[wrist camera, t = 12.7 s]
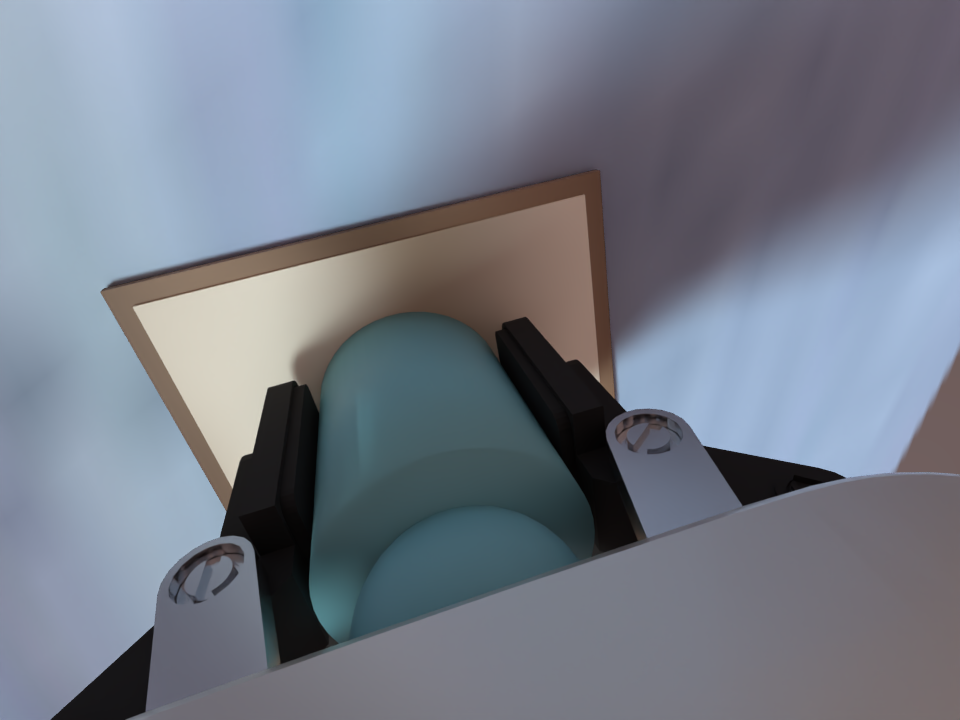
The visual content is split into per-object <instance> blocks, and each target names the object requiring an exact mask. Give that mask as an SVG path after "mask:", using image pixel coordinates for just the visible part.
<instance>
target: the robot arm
mask: <svg viewBox="0 0 960 720" xmlns="http://www.w3.org/2000/svg"><path fill="white" fill-rule="evenodd" d="M495 337H496V343H497V349H498V354H499V359H500V364H501V365H502V367H503V368H504V370H505V371H506V373H507V374H508V376H509V378H510V379H511V381H512V382H513V384H514V385H515V387H516V389H517V390H518V392H519V393H520V395H521V396H522V398H523V399H524V401H525V403H526V404H527V406H528V407H529V409H530V410H531V412H532V414H533V415H534V417H535V418H536V420H537V421H538V423H539V424H540V426H541V428H542V429H543V431H544V432H545V434H546V435H547V437H548V439H549V440H550V442H551V443H552V445H553V446H554V448H555V449H556V451H557V453H558V454H559V456H560V457H561V459H562V460H563V462H564V464H565V465H566V467H567V468H568V470H569V471H570V473H571V474H572V476H573V478H574V479H575V481H576V482H577V484H578V485H579V487H580V488H581V490H582V492H583V493H584V495H585V497H586V499H587V501H588V503H589V505H590V508H591V512H592V515H593V519H594V529H595V536H594V547H593V551H592V556H591V557H590V558H587V559H584V560H581V561H578V562H575V563H572V564H569V565H566V566H563V567H560V568H557V569H554V570H551V571H548V572H545V573H542V574H540V575H537V576H534V577H531V578H528V579H525V580H522V581H519V582H516V583H513V584H510V585H508V586H505V587H502V588H499V589H496V590H493V591H490V592H487V593H484V594H481V595H478V596H475V597H473V598H470V599H467V600H464V601H461V602H458V603H455V604H452V605H449V606H446V607H444V608H441V609H438V610H435V611H432V612H429V613H426V614H423V615H420V616H418V617H415V618H412V619H409V620H406V621H403V622H400V623H397V624H394V625H392V626H389V627H386V628H383V629H380V630H377V631H374V632H371V633H368V634H366V635H363V636H360V637H357V638H354V639H351V640H349V641H346V642H343V643H340V644H339V643H338V642H337V641H336V640H334V639H333V638H332V637H331V636H330V635H329V634H328V633H327V631H326V630H325V629H324V627H323V626H322V625H321V623H320V622H319V620H318V618H317V616H316V614H315V612H314V609H313V605H312V602H311V598H310V590H309V572H310V556H311V539H312V523H313V507H314V491H315V475H316V459H317V442H318V426H319V412H318V409H317V407H316V404H315V402H314V399H313V397H312V394H311V392H310V390H309V387H308V386H307V385H306V384H304V385H300V386H299V385H298V384H297V382H296V381H295V380H294V381H290V382H287V383H283V384H279V385H276V386H272V387H268V389H267V393H266V397H265V401H264V406H263V410H262V414H261V419H260V423H259V428H258V432H257V436H256V441H255V445H254V449H253V453H251V454H247V455H244V456H243V457H241V460H240V462H239V466H238V470H237V473H236V477H235V481H234V485H233V489H232V493H231V497H230V500H229V504H228V508H227V512H226V516H225V520H224V524H223V527H222V531H221V535H220V538H217V539H214V540H211V541H208V542H206V543H204V544H202V545H200V546H198V547H197V548H195V549H193V550H192V551H190V552H189V553H188V554H186V555H185V556H184V557H182V558H181V559H180V560H179V561H178V562H177V563H176V564H175V565H174V566H173V567H172V568H171V569H170V570H169V571H168V573H167V575H166V576H165V578H164V579H163V581H162V583H161V585H160V588H159V592H158V595H157V604H156V614H155V624H154V626H153V627H152V628H151V629H150V630H149V631H148V632H146V633H145V634H144V635H143V636H142V637H141V638H140V639H139V640H138V641H137V642H135V643H134V644H133V645H132V646H131V647H130V648H129V649H128V650H127V651H126V652H124V653H123V654H122V655H121V656H120V657H119V658H118V659H117V660H116V661H115V662H113V663H112V664H111V665H110V666H109V667H108V668H107V669H106V670H105V671H104V672H102V673H101V674H100V675H99V676H98V677H97V678H96V679H95V680H94V681H93V682H92V683H90V684H89V685H88V686H87V687H86V688H85V689H84V690H83V691H82V692H81V693H79V694H78V695H77V696H76V697H75V698H74V699H73V700H72V701H71V702H70V703H68V704H67V705H66V706H65V707H64V708H63V709H62V710H61V711H60V712H59V713H57V714H56V715H55V716H54V717H53V718H52V719H51V720H960V475H958V474H947V473H931V472H917V473H883V474H875V475H866V476H858V477H850V478H845V477H843V476H841V475H839V474H837V473H835V472H831V471H828V470H824V469H820V468H816V467H811V466H806V465H800V464H795V463H790V462H785V461H780V460H774V459H769V458H764V457H759V456H753V455H748V454H743V453H738V452H732V451H727V450H722V449H717V448H712V447H706V446H703V445H702V444H701V442H700V441H699V439H698V438H697V436H696V435H695V433H694V432H693V430H692V429H691V427H690V426H689V425H688V424H687V423H686V422H685V421H684V420H683V419H682V418H680V417H679V416H677V415H675V414H673V413H670V412H667V411H663V410H658V409H635V410H632V411H628V412H626V411H625V410H624V409H623V407H622V406H621V405H620V404H619V403H618V402H617V401H616V400H615V399H614V398H613V397H612V396H611V394H610V393H609V392H608V391H607V390H606V389H605V388H604V387H603V386H602V385H601V384H600V383H599V381H598V380H597V379H596V378H595V377H594V376H593V375H592V374H591V373H590V372H589V371H588V370H587V368H586V367H585V366H584V365H583V364H582V363H581V362H580V361H578V360H577V359H574V360H571V361H567V362H565V361H564V359H563V358H562V357H561V356H560V355H559V354H558V353H557V351H556V350H555V349H554V348H553V347H552V346H551V344H550V343H549V342H548V341H547V340H546V339H545V338H544V336H543V335H542V334H541V333H540V332H539V331H538V330H537V328H536V327H535V326H534V325H533V324H532V323H531V321H530V320H529V319H528V318H527V317H522V318H519V319H515V320H512V321H508V322H504V323H502V330H499V331H495Z"/></svg>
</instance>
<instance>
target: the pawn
mask: <svg viewBox="0 0 960 720" xmlns="http://www.w3.org/2000/svg"><path fill="white" fill-rule="evenodd" d="M594 536H595V529H594V519H593V515H592V512H591V508H590V505H589V503H588V501H587V499H586V497H585V495H584V493H583V492H582V490H581V488H580V487H579V485H578V484H577V482H576V481H575V479H574V478H573V476H572V474H571V473H570V471H569V470H568V468H567V467H566V465H565V464H564V462H563V460H562V459H561V457H560V456H559V454H558V453H557V451H556V449H555V448H554V446H553V445H552V443H551V442H550V440H549V439H548V437H547V435H546V434H545V432H544V431H543V429H542V428H541V426H540V424H539V423H538V421H537V420H536V418H535V417H534V415H533V414H532V412H531V410H530V409H529V407H528V406H527V404H526V403H525V401H524V399H523V398H522V396H521V395H520V393H519V392H518V390H517V389H516V387H515V385H514V384H513V382H512V381H511V379H510V378H509V376H508V374H507V373H506V371H505V370H504V368H503V367H502V365H501V364H500V362H499V360H498V359H497V357H496V356H495V354H494V353H493V351H492V349H491V348H490V347H489V345H488V344H487V343H486V341H485V340H484V339H483V338H482V337H481V336H480V335H479V334H478V333H477V332H476V331H474V330H473V329H472V328H470V327H469V326H468V325H466V324H464V323H462V322H460V321H459V320H456V319H454V318H451V317H449V316H445V315H441V314H437V313H430V312H406V313H398V314H394V315H391V316H387V317H384V318H381V319H379V320H376V321H374V322H372V323H370V324H368V325H366V326H364V327H363V328H361V329H360V330H358V331H357V332H356V333H354V334H353V335H352V336H350V337H349V338H348V339H347V340H346V341H345V342H344V343H343V344H342V345H341V346H340V348H339V349H338V350H337V351H336V353H335V354H334V356H333V357H332V359H331V361H330V362H329V364H328V367H327V369H326V371H325V374H324V377H323V381H322V385H321V395H320V410H319V426H318V442H317V459H316V475H315V491H314V507H313V523H312V539H311V556H310V572H309V590H310V598H311V602H312V605H313V609H314V612H315V614H316V616H317V618H318V620H319V622H320V623H321V625H322V626H323V627H324V629H325V630H326V631H327V633H328V634H329V635H330V636H331V637H332V638H333V639H334V640H336V641H337V642H338V643H339V644H340V643H343V642H346V641H349V640H351V639H354V638H357V637H360V636H363V635H366V634H368V633H371V632H374V631H377V630H380V629H383V628H386V627H389V626H392V625H394V624H397V623H400V622H403V621H406V620H409V619H412V618H415V617H418V616H420V615H423V614H426V613H429V612H432V611H435V610H438V609H441V608H444V607H446V606H449V605H452V604H455V603H458V602H461V601H464V600H467V599H470V598H473V597H475V596H478V595H481V594H484V593H487V592H490V591H493V590H496V589H499V588H502V587H505V586H508V585H510V584H513V583H516V582H519V581H522V580H525V579H528V578H531V577H534V576H537V575H540V574H542V573H545V572H548V571H551V570H554V569H557V568H560V567H563V566H566V565H569V564H572V563H575V562H578V561H581V560H584V559H587V558H590V557H591V556H592V551H593V547H594Z"/></svg>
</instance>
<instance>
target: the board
mask: <svg viewBox="0 0 960 720" xmlns="http://www.w3.org/2000/svg"><path fill="white" fill-rule="evenodd" d="M101 294H102V296H103V297H104V299H105V301H106V303H107V304H108V306H109V308H110V310H111V311H112V313H113V315H114V316H115V318H116V320H117V322H118V323H119V325H120V327H121V329H122V330H123V332H124V334H125V336H126V337H127V339H128V341H129V343H130V344H131V346H132V348H133V350H134V351H135V353H136V355H137V356H138V358H139V360H140V362H141V363H142V365H143V367H144V369H145V370H146V372H147V374H148V376H149V377H150V379H151V381H152V383H153V384H154V386H155V388H156V390H157V391H158V393H159V395H160V397H161V398H162V400H163V402H164V403H165V405H166V407H167V409H168V410H169V412H170V414H171V416H172V417H173V419H174V421H175V423H176V424H177V426H178V428H179V430H180V431H181V433H182V435H183V437H184V438H185V440H186V442H187V444H188V445H189V447H190V449H191V450H192V452H193V454H194V456H195V457H196V459H197V461H198V463H199V464H200V466H201V468H202V470H203V471H204V473H205V475H206V477H207V478H208V480H209V482H210V484H211V485H212V487H213V489H214V491H215V492H216V494H217V496H218V497H219V499H220V501H221V503H222V504H223V506H224V508H225V510H226V511H227V508H228V504H229V500H230V497H231V493H232V489H233V485H234V481H235V477H236V473H237V470H238V466H239V462H240V460H241V457H243V456H244V455H247V454H251V453H253V449H254V445H255V441H256V436H257V432H258V428H259V423H260V419H261V414H262V410H263V406H264V401H265V397H266V393H267V389H268V387H272V386H276V385H279V384H283V383H287V382H290V381H294V380H295V381H296V382H297V384H298V385H299V386H300V385H304V384H306V385H307V386H308V387H309V390H310V392H311V394H312V397H313V399H314V402H315V404H316V407H317V409H318V412H319V410H320V395H321V385H322V381H323V377H324V374H325V371H326V369H327V367H328V364H329V362H330V361H331V359H332V357H333V356H334V354H335V353H336V351H337V350H338V349H339V348H340V346H341V345H342V344H343V343H344V342H345V341H346V340H347V339H348V338H349V337H350V336H352V335H353V334H354V333H356V332H357V331H358V330H360V329H361V328H363V327H364V326H366V325H368V324H370V323H372V322H374V321H376V320H379V319H381V318H384V317H387V316H391V315H394V314H398V313H406V312H430V313H437V314H441V315H445V316H449V317H451V318H454V319H456V320H459V321H460V322H462V323H464V324H466V325H468V326H469V327H470V328H472V329H473V330H474V331H476V332H477V333H478V334H479V335H480V336H481V337H482V338H483V339H484V340H485V341H486V343H487V344H488V345H489V347H490V348H491V349H492V351H493V353H494V354H495V356H496V357H497V359H498V360H499V362H500V359H499V354H498V349H497V343H496V337H495V331H499V330H502V323H504V322H508V321H512V320H515V319H519V318H522V317H527V318H528V319H529V320H530V321H531V323H532V324H533V325H534V326H535V327H536V328H537V330H538V331H539V332H540V333H541V334H542V335H543V336H544V338H545V339H546V340H547V341H548V342H549V343H550V344H551V346H552V347H553V348H554V349H555V350H556V351H557V353H558V354H559V355H560V356H561V357H562V358H563V359H564V361H565V362H567V361H571V360H574V359H577V360H578V361H580V362H581V363H582V364H583V365H584V366H585V367H586V368H587V370H588V371H589V372H590V373H591V374H592V375H593V376H594V377H595V378H596V379H597V380H598V381H599V383H600V384H601V385H602V386H603V387H604V388H605V389H606V390H607V391H608V392H609V393H610V394H611V396H612V397H613V398H614V399H615V395H614V380H613V364H612V349H611V333H610V318H609V303H608V287H607V272H606V257H605V241H604V226H603V210H602V195H601V180H600V171H599V170H592V171H588V172H584V173H580V174H575V175H571V176H567V177H563V178H559V179H555V180H551V181H546V182H542V183H538V184H534V185H530V186H526V187H522V188H517V189H513V190H509V191H505V192H501V193H497V194H493V195H488V196H484V197H480V198H476V199H472V200H468V201H464V202H460V203H455V204H451V205H447V206H443V207H439V208H435V209H431V210H426V211H422V212H418V213H414V214H410V215H406V216H402V217H397V218H393V219H389V220H385V221H381V222H377V223H373V224H369V225H364V226H360V227H356V228H352V229H348V230H344V231H340V232H335V233H331V234H327V235H323V236H319V237H315V238H311V239H306V240H302V241H298V242H294V243H290V244H286V245H282V246H278V247H273V248H269V249H265V250H261V251H257V252H253V253H249V254H244V255H240V256H236V257H232V258H228V259H224V260H220V261H215V262H211V263H207V264H203V265H199V266H195V267H191V268H186V269H182V270H178V271H174V272H170V273H166V274H162V275H158V276H153V277H149V278H145V279H141V280H137V281H133V282H129V283H124V284H120V285H116V286H112V287H108V288H104V289H103V290H102V291H101Z"/></svg>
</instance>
